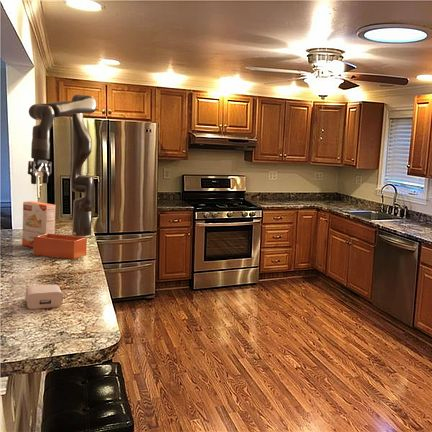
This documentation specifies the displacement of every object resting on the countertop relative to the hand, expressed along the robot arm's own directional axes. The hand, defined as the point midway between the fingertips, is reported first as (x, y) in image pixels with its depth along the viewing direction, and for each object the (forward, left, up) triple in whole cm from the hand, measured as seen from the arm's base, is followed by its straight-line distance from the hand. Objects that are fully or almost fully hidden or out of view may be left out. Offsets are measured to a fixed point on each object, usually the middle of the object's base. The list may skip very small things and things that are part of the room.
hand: (39, 183), depth 215 cm
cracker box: (0, 0, -30) cm, 30 cm away
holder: (+10, +17, -30) cm, 36 cm away
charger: (+70, +47, -30) cm, 90 cm away
